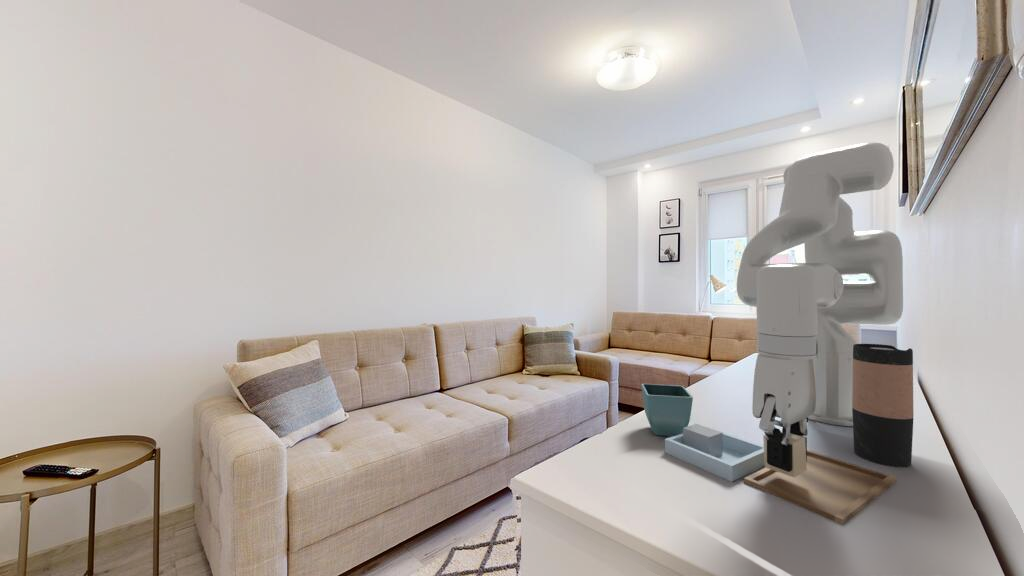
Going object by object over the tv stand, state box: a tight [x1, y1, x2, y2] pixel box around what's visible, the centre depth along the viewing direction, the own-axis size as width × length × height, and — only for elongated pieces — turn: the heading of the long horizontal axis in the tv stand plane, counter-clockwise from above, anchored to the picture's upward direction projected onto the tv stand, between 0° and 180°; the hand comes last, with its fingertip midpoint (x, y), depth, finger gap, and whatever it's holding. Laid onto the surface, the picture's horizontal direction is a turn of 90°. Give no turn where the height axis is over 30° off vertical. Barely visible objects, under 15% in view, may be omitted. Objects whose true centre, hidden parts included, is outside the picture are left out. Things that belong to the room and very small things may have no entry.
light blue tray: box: [664, 429, 765, 483], centre depth 66 cm, size 12×12×3 cm
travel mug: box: [852, 343, 915, 469], centre depth 66 cm, size 8×8×20 cm
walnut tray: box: [743, 449, 897, 525], centre depth 58 cm, size 20×12×1 cm, turn 121°
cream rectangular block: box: [762, 430, 807, 477], centre depth 58 cm, size 4×4×5 cm
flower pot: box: [640, 383, 694, 437], centre depth 79 cm, size 9×9×9 cm
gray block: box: [683, 423, 724, 457], centre depth 68 cm, size 4×4×5 cm
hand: (786, 462), depth 58 cm, fingers closed on cream rectangular block, 3 cm apart
